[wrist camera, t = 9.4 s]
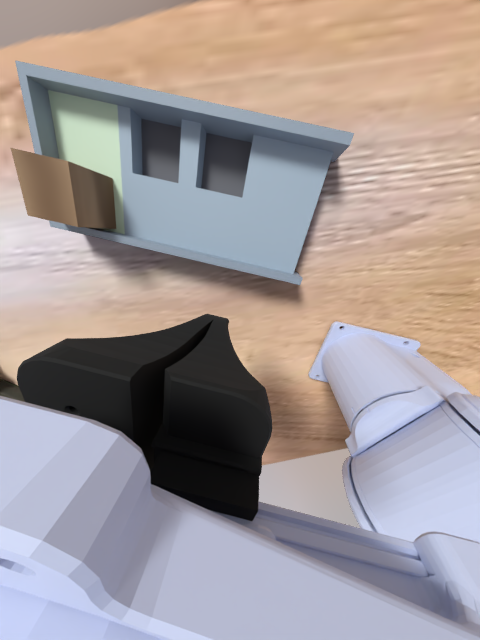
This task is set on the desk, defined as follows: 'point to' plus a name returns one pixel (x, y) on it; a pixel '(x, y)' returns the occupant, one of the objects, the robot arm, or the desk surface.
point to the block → (65, 191)
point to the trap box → (187, 168)
